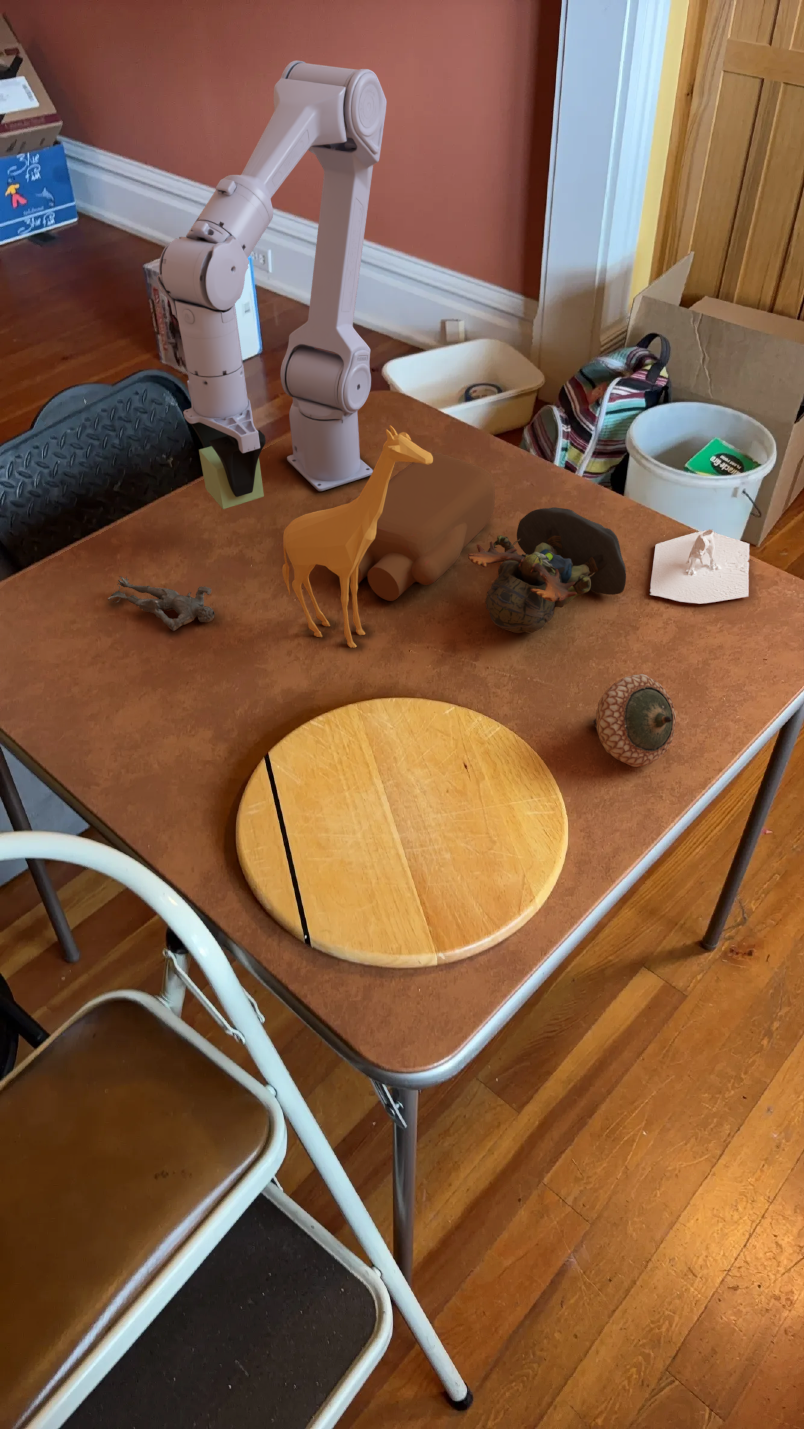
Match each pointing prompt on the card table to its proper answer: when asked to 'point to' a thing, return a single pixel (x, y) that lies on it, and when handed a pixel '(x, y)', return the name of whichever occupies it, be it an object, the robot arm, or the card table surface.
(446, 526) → the toy
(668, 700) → the acorn
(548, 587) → the figurine
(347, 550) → the giraffe
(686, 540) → the dinosaur figurine
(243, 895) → the card table surface
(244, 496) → the felt cube
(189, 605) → the figurine
